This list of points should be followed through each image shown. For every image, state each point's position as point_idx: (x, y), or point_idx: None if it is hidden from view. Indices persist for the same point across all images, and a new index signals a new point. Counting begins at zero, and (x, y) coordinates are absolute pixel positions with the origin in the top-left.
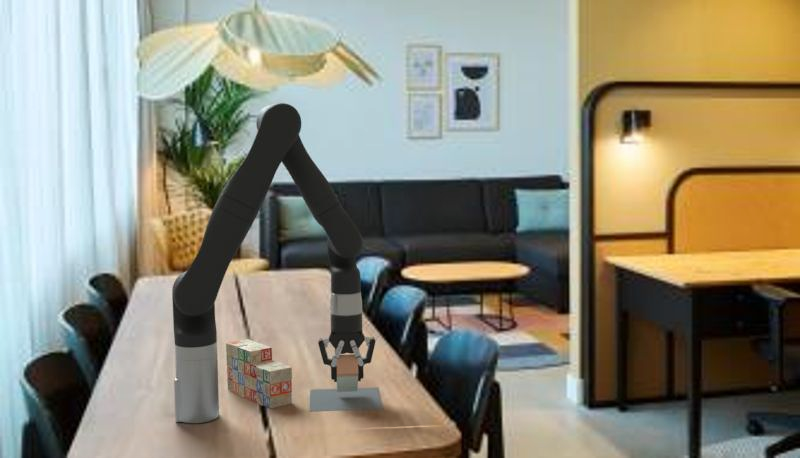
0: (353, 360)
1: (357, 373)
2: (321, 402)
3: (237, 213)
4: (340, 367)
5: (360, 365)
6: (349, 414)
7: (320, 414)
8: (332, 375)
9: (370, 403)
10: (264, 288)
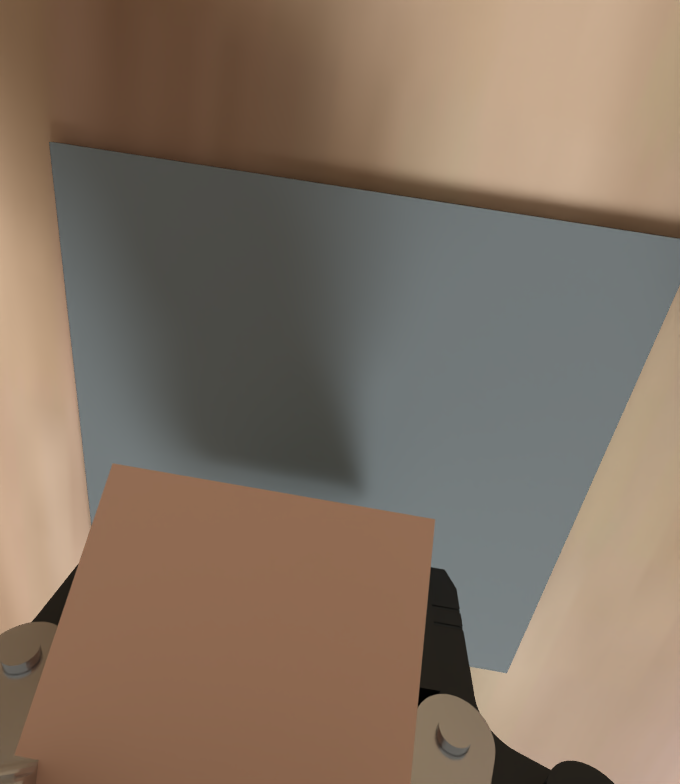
0: (105, 733)
1: (132, 467)
2: (517, 436)
3: None
4: (363, 626)
5: (50, 632)
6: (357, 104)
7: (609, 177)
8: (444, 607)
9: (155, 310)
10: None
